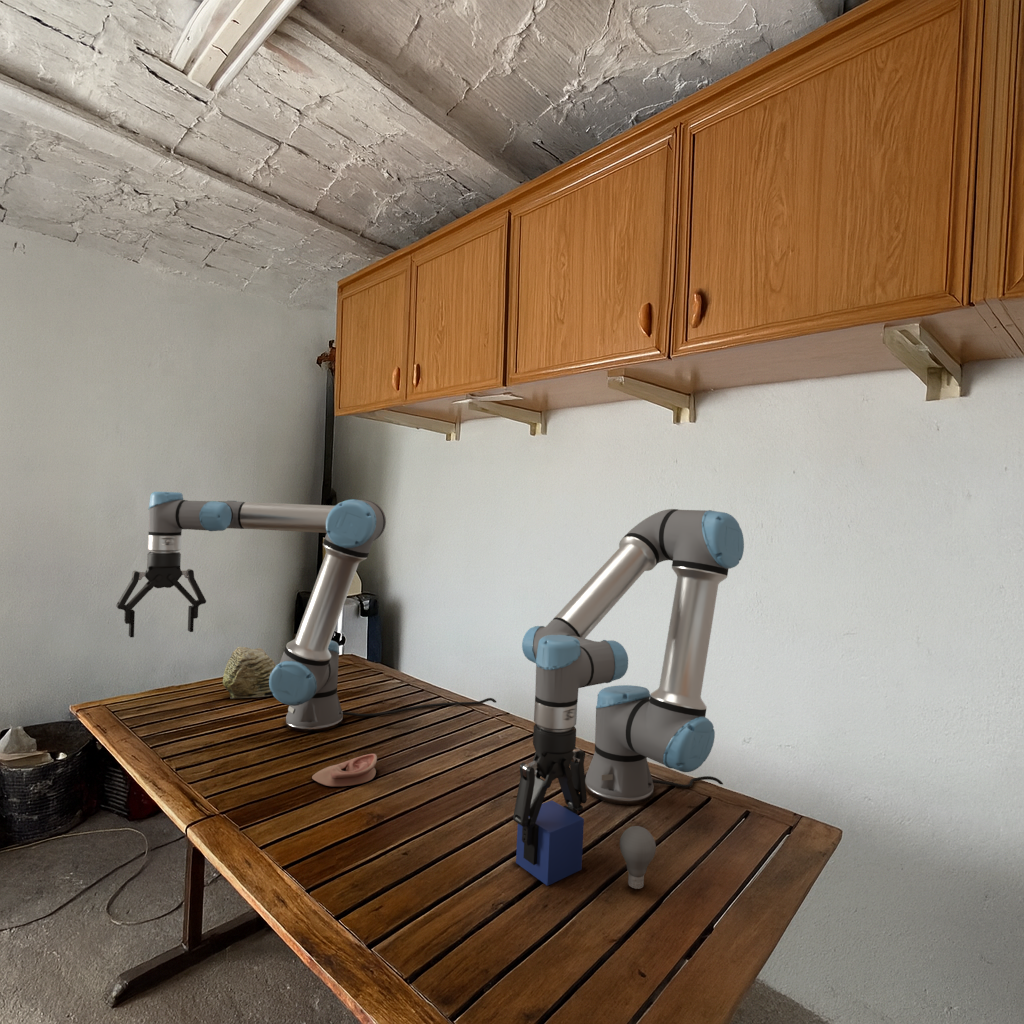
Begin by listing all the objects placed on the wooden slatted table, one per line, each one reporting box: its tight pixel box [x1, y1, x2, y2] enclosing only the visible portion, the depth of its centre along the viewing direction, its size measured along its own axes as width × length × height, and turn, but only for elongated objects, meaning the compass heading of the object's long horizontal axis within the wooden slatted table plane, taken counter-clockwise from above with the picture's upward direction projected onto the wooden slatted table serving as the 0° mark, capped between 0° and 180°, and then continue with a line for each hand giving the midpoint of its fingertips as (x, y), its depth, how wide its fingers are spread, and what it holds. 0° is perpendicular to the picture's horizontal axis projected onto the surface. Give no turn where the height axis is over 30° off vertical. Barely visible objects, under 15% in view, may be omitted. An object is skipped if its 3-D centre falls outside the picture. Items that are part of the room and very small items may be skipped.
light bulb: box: [619, 825, 657, 890], centre depth 107 cm, size 6×6×10 cm
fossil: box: [222, 646, 277, 699], centre depth 198 cm, size 9×18×15 cm, turn 132°
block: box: [515, 800, 585, 887], centre depth 112 cm, size 8×8×9 cm
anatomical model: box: [311, 753, 378, 788], centre depth 144 cm, size 13×4×12 cm
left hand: (161, 633), depth 163 cm, fingers open, 13 cm apart
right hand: (549, 852), depth 112 cm, fingers closed on block, 8 cm apart
